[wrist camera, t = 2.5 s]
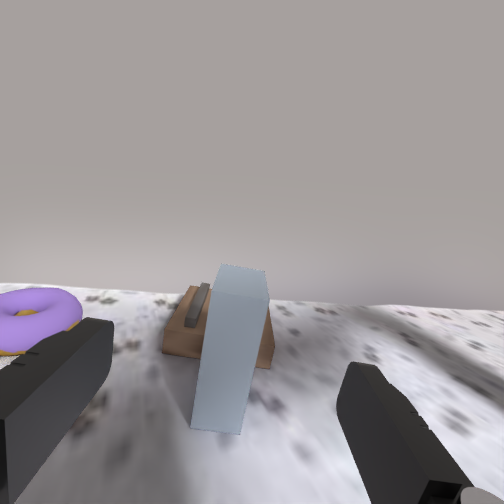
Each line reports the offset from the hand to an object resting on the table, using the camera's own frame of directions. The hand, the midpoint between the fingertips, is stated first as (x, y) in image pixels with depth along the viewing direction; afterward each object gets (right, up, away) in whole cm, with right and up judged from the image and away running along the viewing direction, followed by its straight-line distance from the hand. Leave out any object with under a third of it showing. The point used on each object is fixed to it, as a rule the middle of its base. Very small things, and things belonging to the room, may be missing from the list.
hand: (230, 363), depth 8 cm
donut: (-23, -5, +19) cm, 30 cm away
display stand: (-3, -7, +25) cm, 26 cm away
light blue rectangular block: (-2, -10, +14) cm, 18 cm away
